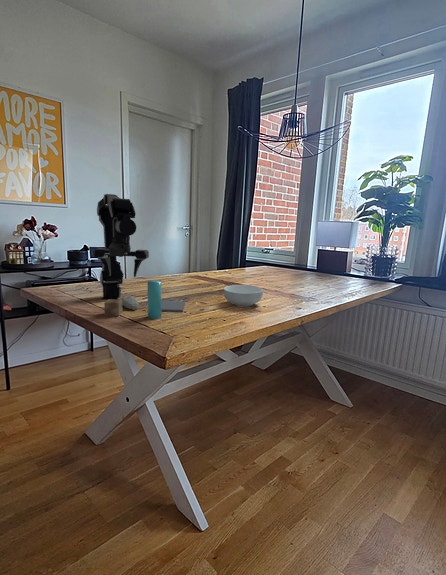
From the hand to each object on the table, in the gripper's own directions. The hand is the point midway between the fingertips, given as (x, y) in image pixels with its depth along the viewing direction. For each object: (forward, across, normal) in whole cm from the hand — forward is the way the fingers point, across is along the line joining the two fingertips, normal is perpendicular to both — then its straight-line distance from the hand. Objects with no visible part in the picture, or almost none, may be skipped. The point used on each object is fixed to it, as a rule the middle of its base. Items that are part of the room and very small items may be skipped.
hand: (122, 276), depth 122 cm
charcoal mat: (+13, +16, +7) cm, 22 cm away
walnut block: (+13, -2, -5) cm, 14 cm away
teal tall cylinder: (+13, +13, -7) cm, 20 cm away
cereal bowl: (+13, +47, +15) cm, 51 cm away
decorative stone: (+13, +1, +7) cm, 15 cm away
